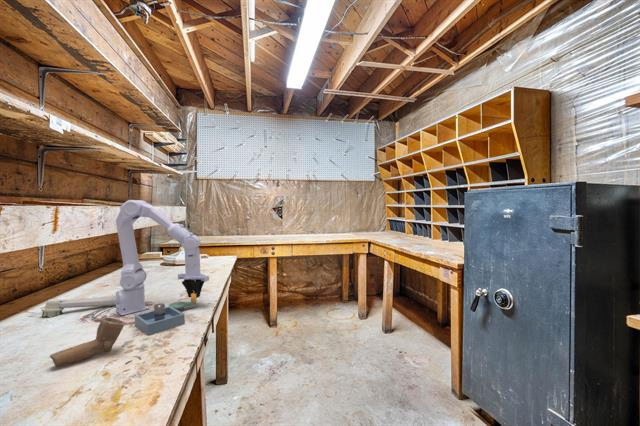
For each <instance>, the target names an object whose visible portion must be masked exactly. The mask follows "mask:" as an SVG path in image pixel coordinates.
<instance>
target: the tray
mask: <svg viewBox="0 0 640 426" xmlns="http://www.w3.org/2000/svg"><path fill="white" fill-rule="evenodd" d="M185 324H186V323H185V313H183V311H182V312H180V311H178V310H176V309H174V308H173V307H171V306H169V305H168V306H165V319H163V320H159V321H156V322H155V319H154V310H151V311H147V312H143V313H139V314H134V326H135V327H136V328H137V329H139V330H140V331H142V332H143V333H144V334H145V335H147V336H150V335H153V334H157V333H160V332H163V331H166V330H170V329H173V328H176V327H178V326H179V327H180V326H182V325H185Z"/></svg>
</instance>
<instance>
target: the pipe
mask: <svg viewBox="0 0 640 426" xmlns="http://www.w3.org/2000/svg"><path fill="white" fill-rule="evenodd" d="M125 325H126V322H125V321H123V320H120V319H118V318H114V317H105V316H104V317H102V318H101V319H100V322H99V325H98V327H97V330H96V336H95V339H94V340H90V341H87V342H84V343H79V344H78V345H74V346H71V347H68V348H65V349H63V350H60V351H56V352H54V353H52V354H50V355H49V357H50V358H49V359H51V360H52V362H53V364H54V366H55V367H59V366H63V365H67V364H70V363H74V362H76V361H77V362H78V361H80V360H83V359H87V358H91V357H95V356H99V355H102V354H109V353H110V352H112V348H113V346H114V344H116V341H117V340H118V338H119V336H120V334H121V332H122V331H123V328H124V326H125Z"/></svg>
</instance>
